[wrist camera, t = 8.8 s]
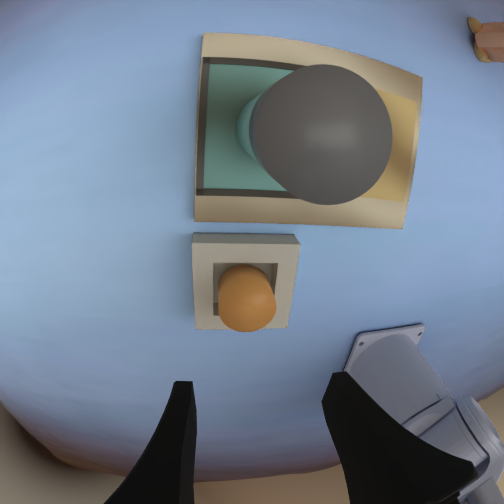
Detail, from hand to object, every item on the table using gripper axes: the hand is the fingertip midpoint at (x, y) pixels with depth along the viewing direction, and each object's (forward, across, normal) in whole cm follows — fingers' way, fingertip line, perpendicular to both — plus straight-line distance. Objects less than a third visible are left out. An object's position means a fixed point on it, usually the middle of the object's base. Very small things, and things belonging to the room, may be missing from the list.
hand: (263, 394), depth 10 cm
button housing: (+9, 0, 0) cm, 9 cm away
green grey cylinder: (+9, -1, -10) cm, 13 cm away
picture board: (+9, -4, -10) cm, 14 cm away
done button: (+8, 0, 0) cm, 8 cm away
